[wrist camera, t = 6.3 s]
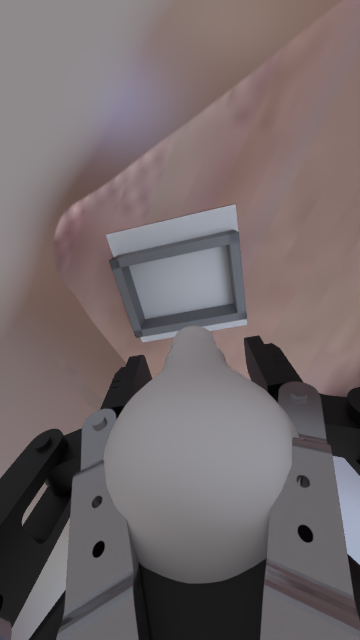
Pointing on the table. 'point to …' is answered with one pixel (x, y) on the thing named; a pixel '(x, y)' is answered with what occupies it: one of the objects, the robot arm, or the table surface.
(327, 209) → the table surface
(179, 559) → the lightbulb
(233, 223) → the grey flat square tray
